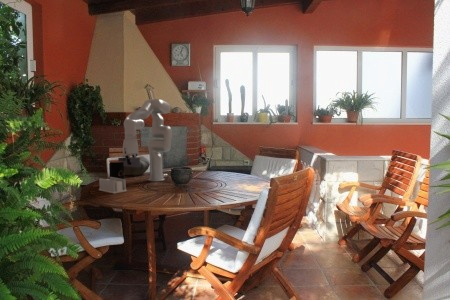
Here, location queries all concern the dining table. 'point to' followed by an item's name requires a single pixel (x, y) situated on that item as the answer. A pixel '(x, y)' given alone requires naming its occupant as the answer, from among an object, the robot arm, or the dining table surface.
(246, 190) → the dining table surface
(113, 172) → the coffee jar
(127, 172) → the gourd
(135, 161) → the grey bracket
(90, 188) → the dining table surface
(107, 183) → the stand
